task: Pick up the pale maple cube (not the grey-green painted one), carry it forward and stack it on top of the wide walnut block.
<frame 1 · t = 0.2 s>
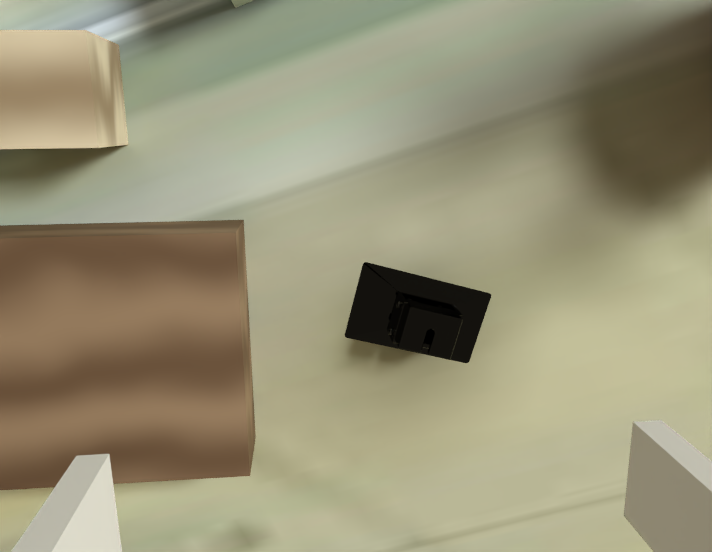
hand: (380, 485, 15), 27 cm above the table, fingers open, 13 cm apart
maple cube: (74, 96, 38), on the table
walnut block: (132, 338, 42), on the table
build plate: (417, 312, 44), on the table
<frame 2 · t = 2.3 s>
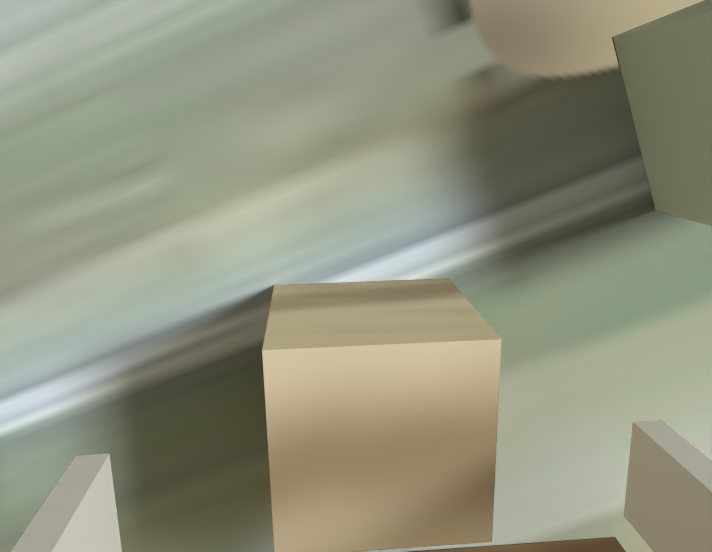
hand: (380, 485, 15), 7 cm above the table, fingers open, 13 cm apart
maple cube: (363, 362, 22), on the table
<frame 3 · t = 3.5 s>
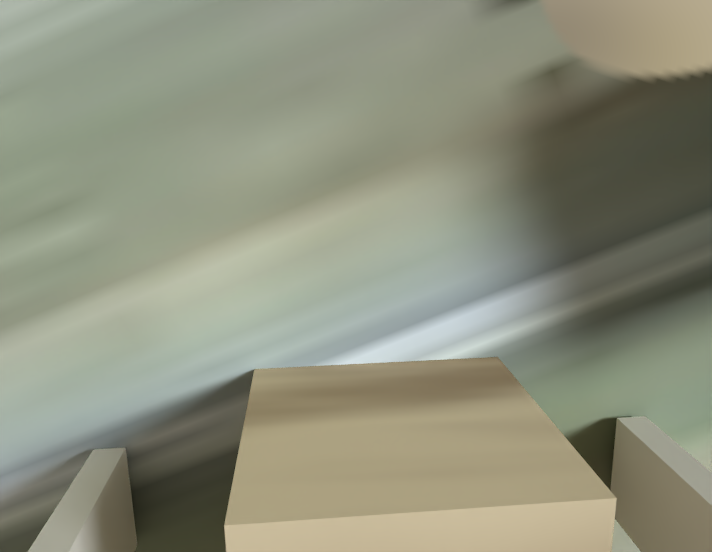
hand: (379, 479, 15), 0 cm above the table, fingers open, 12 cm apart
maple cube: (378, 470, 16), on the table
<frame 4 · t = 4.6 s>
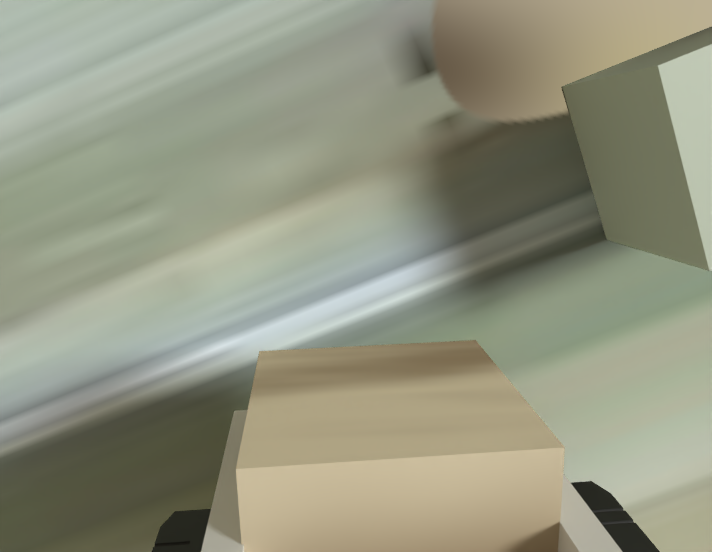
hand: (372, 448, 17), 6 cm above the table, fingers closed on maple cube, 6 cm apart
maple cube: (370, 444, 18), point 6 cm above the table, touching gripper
sage cube: (658, 135, 23), on the table
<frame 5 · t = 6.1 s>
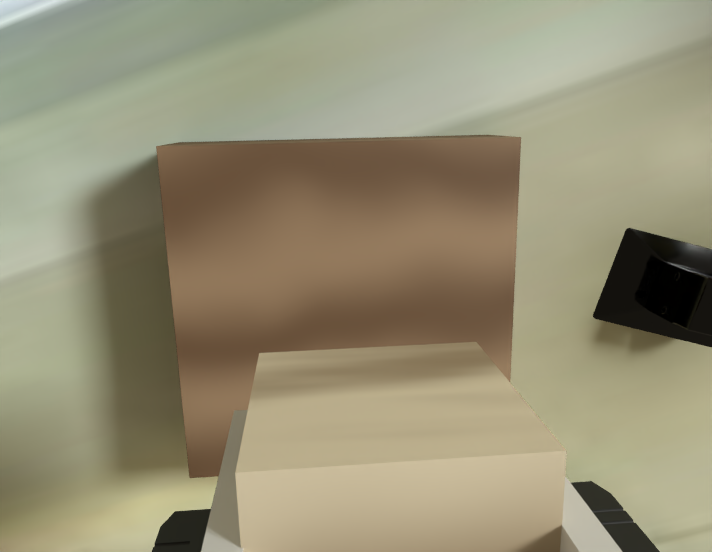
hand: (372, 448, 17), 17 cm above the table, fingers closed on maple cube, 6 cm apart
maple cube: (371, 446, 17), point 17 cm above the table, touching gripper
walnut block: (340, 287, 33), on the table
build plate: (674, 288, 36), on the table
when the fingers open (6 cm above the table, at t = 7.8 s): maple cube stays where it is, resting on walnut block.
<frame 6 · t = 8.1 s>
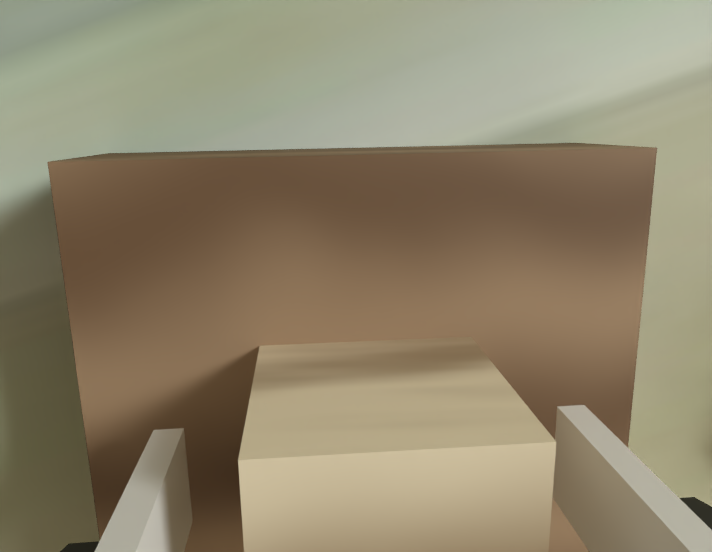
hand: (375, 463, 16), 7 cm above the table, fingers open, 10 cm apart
maple cube: (367, 437, 18), point 5 cm above the table, touching walnut block
walnut block: (354, 367, 23), on the table
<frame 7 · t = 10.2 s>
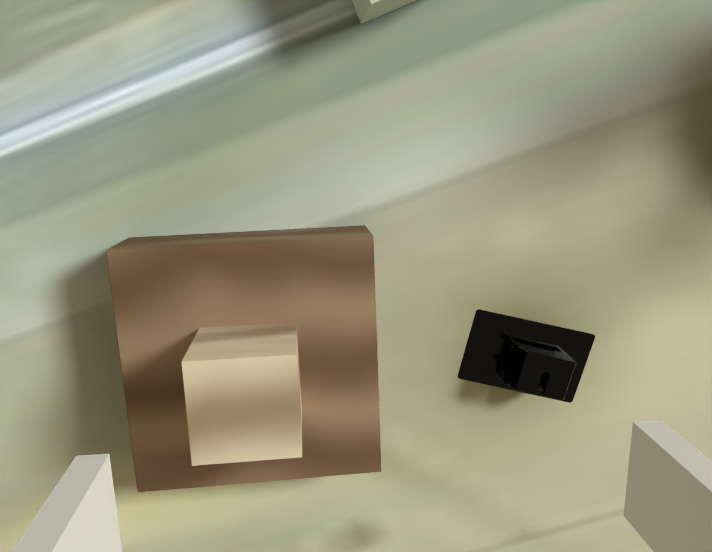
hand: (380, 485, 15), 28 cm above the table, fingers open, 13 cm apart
maple cube: (251, 370, 39), point 5 cm above the table, touching walnut block
walnut block: (257, 342, 43), on the table
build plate: (521, 353, 46), on the table
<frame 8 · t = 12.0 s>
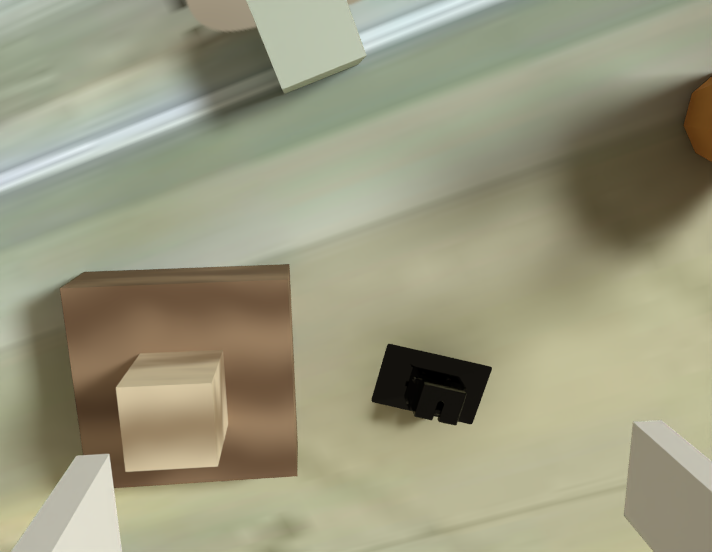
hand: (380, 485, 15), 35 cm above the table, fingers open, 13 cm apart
maple cube: (185, 389, 46), point 5 cm above the table, touching walnut block
sage cube: (306, 39, 45), on the table
walnut block: (196, 362, 50), on the table
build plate: (428, 381, 53), on the table
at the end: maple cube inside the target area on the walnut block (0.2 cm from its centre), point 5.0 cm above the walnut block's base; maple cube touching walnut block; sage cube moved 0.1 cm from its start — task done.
